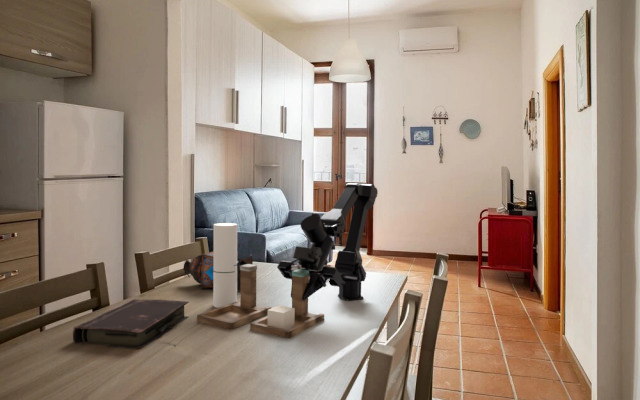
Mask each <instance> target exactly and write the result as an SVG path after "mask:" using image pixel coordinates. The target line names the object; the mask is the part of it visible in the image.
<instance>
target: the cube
mask: <svg viewBox="0 0 640 400" xmlns="http://www.w3.org/2000/svg"><path fill="white" fill-rule="evenodd" d="M267 316H268V322H267V325H269V326H273V327H277V328H282V329H286V330H288V329H290V328H292V327H294V318H295V308H292V307H290V306H284V305H280V304H279V305H276V306H273V307H271V309H269V310H268V314H267Z"/></svg>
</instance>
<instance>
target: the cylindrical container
mask: <svg viewBox="0 0 640 400" xmlns="http://www.w3.org/2000/svg"><path fill="white" fill-rule="evenodd" d="M213 252H214V260H213V270H214V271H213V288H212V290H213V297H212V298H213V299H212V300H213V302H212V303H213V305H212V306H213V307H215V309H216V308H219V307H222V306H225V305H228V304H230V303H233V302H236V301H238V289H237V263H238V262H237V258H238V223H233V222H221V223H219V222H218V223H213Z"/></svg>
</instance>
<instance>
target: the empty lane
mask: <svg viewBox="0 0 640 400" xmlns="http://www.w3.org/2000/svg"><path fill="white" fill-rule="evenodd" d="M240 270H241V284H240V291H239V293H240V298H239V299H240V300H237V301H236V302H233V303H230V304H228V305H225V306H222V307H219V308H216V307H215V308H214V309H213V308H212V309H211V310H208V311H205V312H203V313H199V314H198V315H197V316H196V324H197V325H200V324H202V323H203V324H206V325H211V326H215V327H220V328H224V329H228V330H234V329H236V328H239V327H241V326H244V325H246V324H248V323H252V322H254V321H256V320H259V319H261V318H263V317H266V316H268V310H269V309H271V308H272V306H265V307H264V306H259V305H257V270H258V265H256V264H253V265H252V264H245V265H242V266H240Z"/></svg>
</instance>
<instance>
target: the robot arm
mask: <svg viewBox="0 0 640 400" xmlns="http://www.w3.org/2000/svg"><path fill="white" fill-rule="evenodd" d="M378 194H379V193H378V188H377V187H376V186H375V185H374V184H373V183H358V182H356V183H355V182H354V183H353V182H348V183H346V184H345V186H344V189H343V192H342V193H341V194H340V196H339V197H338V199H337V200H336V202H335V204H334V205H333V207H332V209H331V210H330V211H327V212H325V213H324V214H323V215H322V216H321V215H320V214H319V213H317V212H312V213H311V215H309V216H307V217H305V218H304V219H303V220H301V222H300V228H301V230H302V232H303V233H304V235H305V237H306V239H307V241H308V242H310V243H311V246H310V247H303V246H295V249H294V253H293V256H292V258H293V259H296V260H298V262H297V264H298V263H299V265H301V267H299V266H296V265H295V264H294V262H293V261H290V260H284V259H283V260H280V261H279V263H278V264H277V266H276V267H277V270H278V271H279V272H280V274H281V275H282V276H283V277H284V278H285V279H288V280H292V271H294V270H297V269H302V270H309V275H308V276H310V280H309V282H308V285H307V287H306V289H305V291H304V293H303V296H302V300H303V301H304V300H306V299H307V298H308V299H309V298H310V297H311V296H312V295H313V294H315V292H317V291H319V290H320V289H322V288H325V287H326V286H327V284H326V283H327V281H328V284H329V285H330V286H331V287H332V286H333V287H336V288H337V287H338V294H337V296H338V297H339V298H341V299H343V300H345V301H353V300H356V301H357V300H361V299H362V300H363V299H364V296H362V282H365V280H366V277H367V271H366V269H365V268H364V266H363V258H362V256H361V253H360V251H361V245H362V241H363V235H364V230H365V226H366V221H367V216H368V212H369V210H370V209H371V208H372V207H373V206H374V205H375V203H376V199H377V197H378ZM351 210H352V214H351V218H350V224H349V228H348V233H347V237H346V242H345V246H344V248H343V249H342V250H338V252H337V256H336V260H335V262H334V263H335V264H334V267H333V266H328V263H329V262H328V257H329V255H330V253H331V250H333V251H334V250H336V244H335V243H334V242H335V240H333V238H340V237H342V235H343V233H344V231H345V228H346V218H347V216H348V214H349V213H350V211H351ZM332 237H333V238H332ZM326 259H327V260H326ZM324 265H327V266H325V267H323V266H324ZM322 268H323V269H322ZM290 297H291V299H292V287H291V289H290Z"/></svg>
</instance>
